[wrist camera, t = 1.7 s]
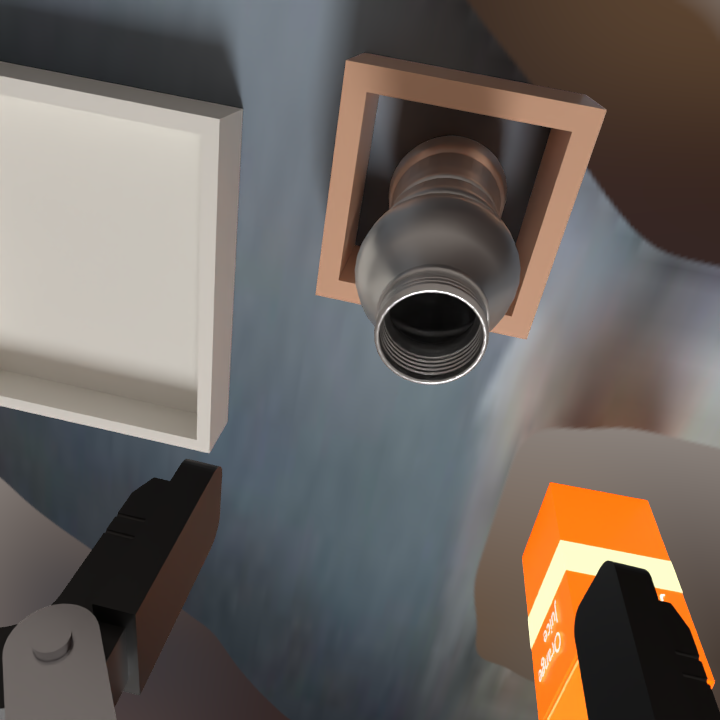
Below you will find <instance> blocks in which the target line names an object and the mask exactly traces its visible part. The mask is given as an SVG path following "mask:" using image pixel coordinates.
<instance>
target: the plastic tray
mask: <svg viewBox="0 0 720 720" xmlns="http://www.w3.org/2000/svg"><path fill="white" fill-rule="evenodd" d="M242 120H243V109H241V108H236V107H231V106H226V105H221V104H216V103H211V102H205V101H200V100H195V99H190V98H185V97H180V96H175V95H170V94H165V93H160V92H155V91H149V90H144V89H139V88H134V87H129V86H124V85H119V84H114V83H109V82H104V81H99V80H94V79H88V78H83V77H78V76H73V75H68V74H63V73H58V72H53V71H48V70H43V69H38V68H33V67H27V66H22V65H17V64H12V63H7V62H2V61H0V406H4V407H8V408H13V409H17V410H21V411H26V412H30V413H35V414H39V415H43V416H48V417H52V418H57V419H61V420H65V421H70V422H74V423H79V424H83V425H87V426H92V427H96V428H101V429H105V430H109V431H114V432H118V433H123V434H127V435H131V436H136V437H140V438H145V439H149V440H153V441H158V442H162V443H167V444H171V445H175V446H180V447H184V448H189V449H193V450H197V451H202V452H206V453H210V451H211V449H212V448H213V446H214V444H215V443H216V441H217V439H218V437H219V436H220V434H221V432H222V431H223V429H224V427H225V425H226V424H227V421H228V401H229V381H230V361H231V340H232V320H233V300H234V280H235V260H236V240H237V220H238V200H239V180H240V160H241V140H242Z"/></svg>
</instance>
